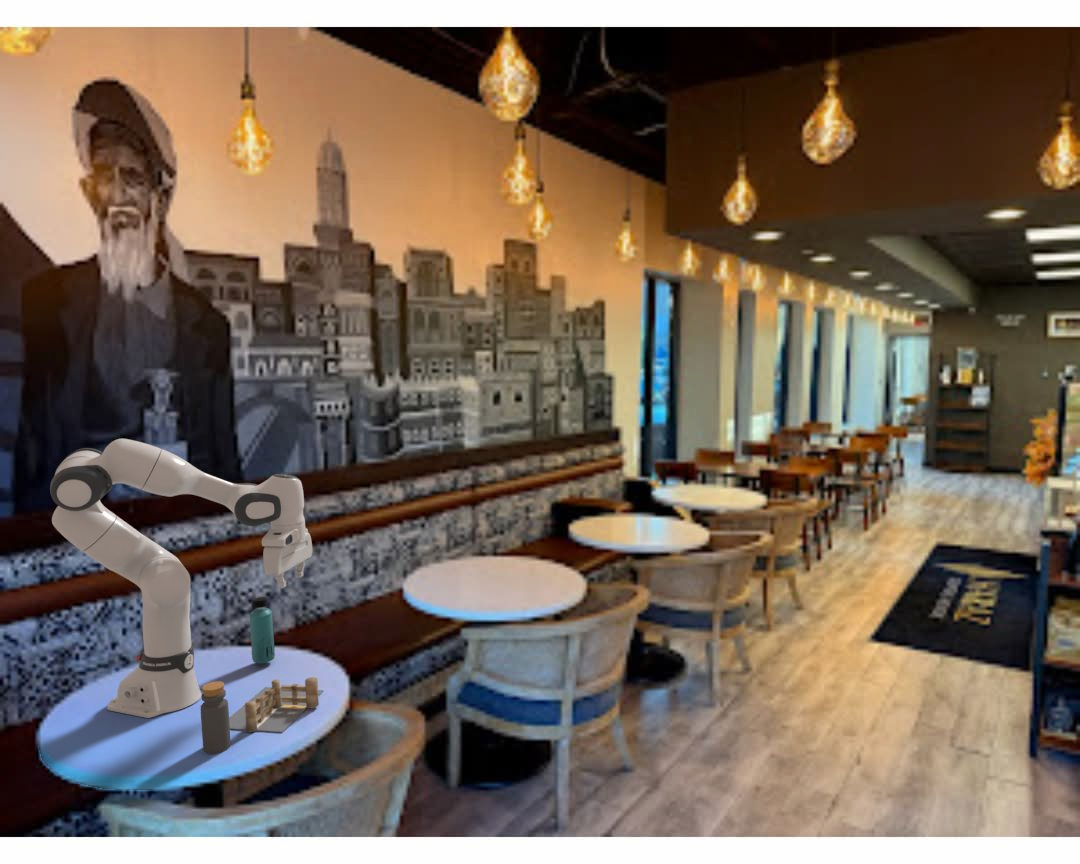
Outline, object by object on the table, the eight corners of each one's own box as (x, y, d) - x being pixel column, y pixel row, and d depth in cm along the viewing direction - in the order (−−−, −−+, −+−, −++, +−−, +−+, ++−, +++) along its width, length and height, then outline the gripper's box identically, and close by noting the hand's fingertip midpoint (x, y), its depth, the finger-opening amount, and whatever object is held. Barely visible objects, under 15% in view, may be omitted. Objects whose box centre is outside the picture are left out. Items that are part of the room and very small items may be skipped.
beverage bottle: (267, 669, 209) (263, 602, 207) (247, 667, 210) (243, 601, 208) (280, 660, 215) (276, 595, 213) (260, 658, 216) (256, 594, 214)
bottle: (229, 751, 164) (225, 689, 163) (201, 756, 163) (197, 693, 161) (232, 739, 170) (228, 678, 168) (205, 743, 168) (201, 682, 167)
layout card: (217, 728, 175) (217, 727, 175) (265, 688, 196) (265, 686, 196) (282, 732, 172) (282, 731, 172) (323, 691, 194) (323, 689, 194)
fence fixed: (244, 731, 172) (242, 705, 172) (274, 704, 186) (273, 679, 186) (253, 732, 172) (252, 705, 171) (283, 704, 186) (282, 679, 185)
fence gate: (285, 701, 186) (283, 676, 186) (320, 702, 186) (319, 677, 185) (280, 707, 184) (278, 681, 183) (315, 708, 183) (314, 682, 182)
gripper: (296, 524, 206) (298, 571, 207) (257, 541, 186) (260, 593, 187) (316, 524, 205) (319, 571, 206) (280, 542, 185) (283, 594, 186)
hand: (290, 582), depth 196 cm, fingers open, 8 cm apart
